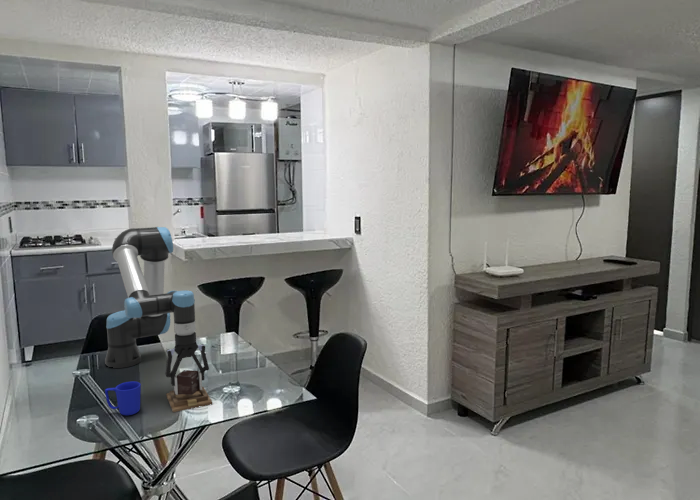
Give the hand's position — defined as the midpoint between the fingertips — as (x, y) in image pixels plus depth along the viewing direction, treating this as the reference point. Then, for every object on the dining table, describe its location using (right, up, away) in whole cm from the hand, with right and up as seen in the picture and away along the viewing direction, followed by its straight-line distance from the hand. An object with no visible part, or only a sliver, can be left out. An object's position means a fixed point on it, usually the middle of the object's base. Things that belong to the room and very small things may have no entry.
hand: (188, 390), depth 194 cm
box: (0, -1, 0) cm, 1 cm away
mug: (-20, -5, -10) cm, 23 cm away
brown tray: (0, -4, 0) cm, 4 cm away
